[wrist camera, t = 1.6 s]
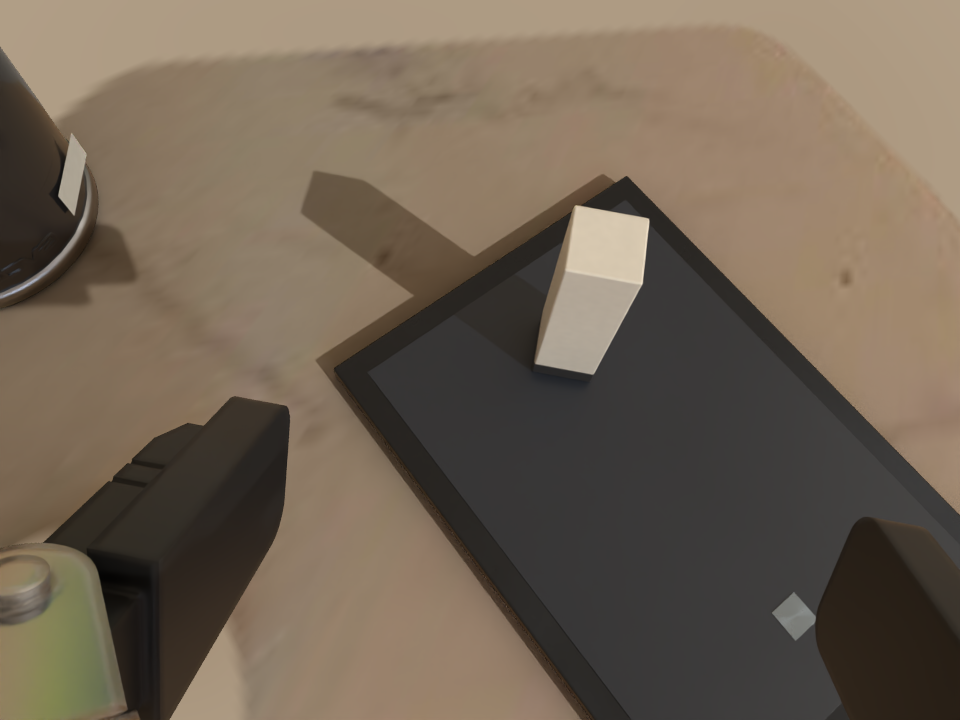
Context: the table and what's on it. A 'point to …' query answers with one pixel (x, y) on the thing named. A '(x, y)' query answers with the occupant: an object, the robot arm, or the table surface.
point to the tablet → (643, 480)
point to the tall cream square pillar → (590, 291)
